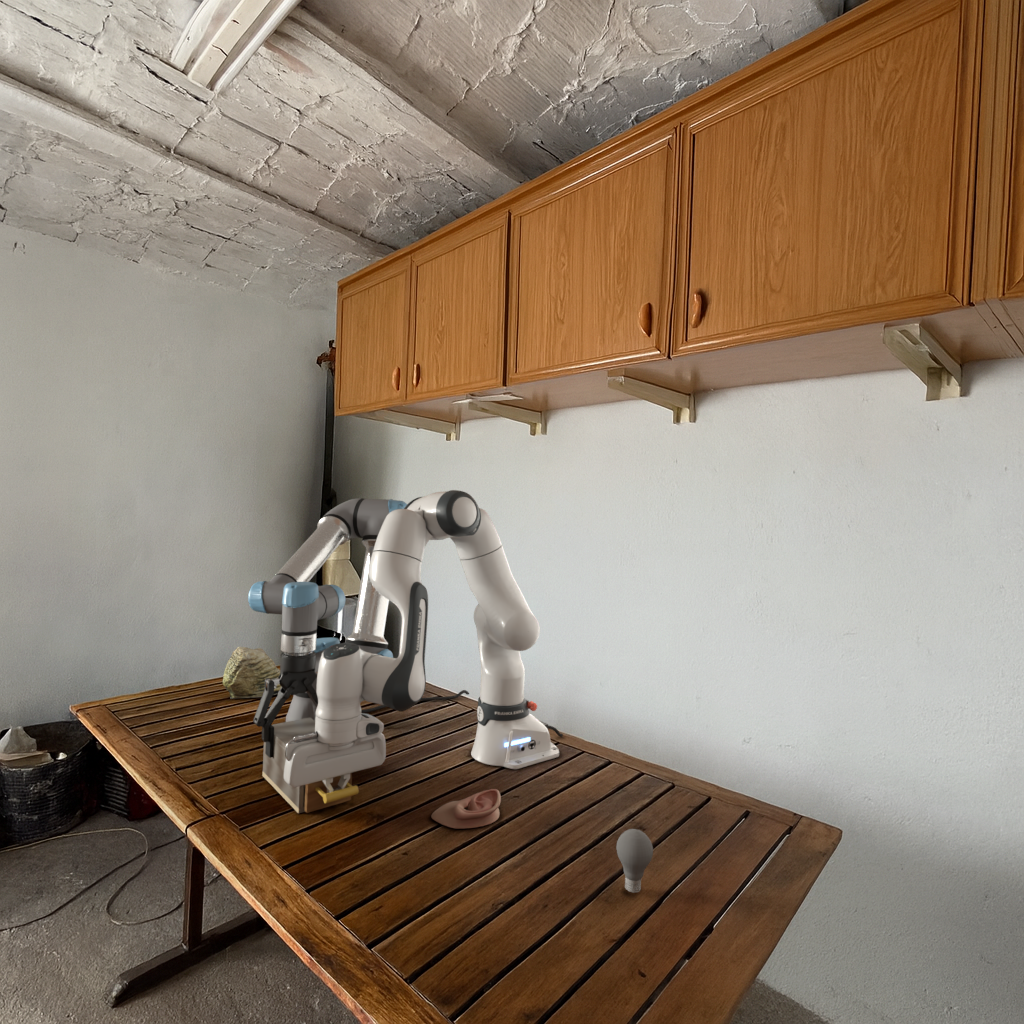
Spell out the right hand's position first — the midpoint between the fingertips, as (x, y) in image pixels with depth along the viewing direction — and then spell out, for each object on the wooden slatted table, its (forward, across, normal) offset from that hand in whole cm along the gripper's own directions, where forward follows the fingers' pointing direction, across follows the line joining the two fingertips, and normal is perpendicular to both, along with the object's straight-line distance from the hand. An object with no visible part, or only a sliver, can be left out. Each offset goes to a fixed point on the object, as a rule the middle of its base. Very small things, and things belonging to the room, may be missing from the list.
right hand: (335, 796), depth 126 cm
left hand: (-2, 0, +21) cm, 21 cm away
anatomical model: (+4, +22, -15) cm, 27 cm away
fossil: (+4, +12, +84) cm, 85 cm away
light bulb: (+4, +30, -51) cm, 59 cm away
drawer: (+3, 0, +9) cm, 10 cm away
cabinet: (+4, 0, +16) cm, 16 cm away
